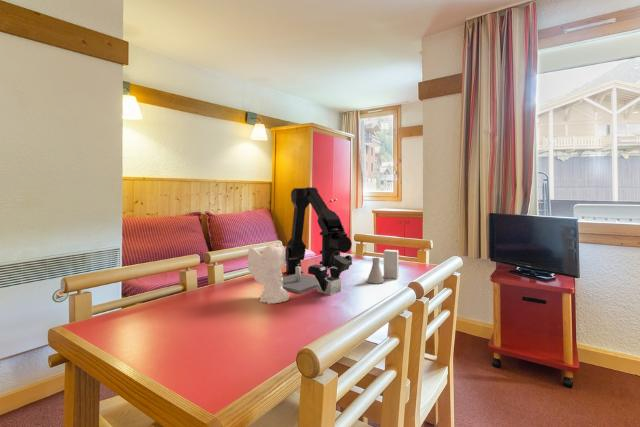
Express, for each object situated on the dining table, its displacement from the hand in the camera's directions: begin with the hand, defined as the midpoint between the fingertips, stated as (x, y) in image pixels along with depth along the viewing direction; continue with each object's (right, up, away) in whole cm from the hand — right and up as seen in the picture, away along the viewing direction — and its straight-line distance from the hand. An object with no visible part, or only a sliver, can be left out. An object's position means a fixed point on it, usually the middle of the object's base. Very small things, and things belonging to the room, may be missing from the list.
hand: (329, 288), depth 127 cm
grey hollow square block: (0, -1, 0) cm, 1 cm away
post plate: (-12, 0, +10) cm, 16 cm away
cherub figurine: (-21, -2, -8) cm, 22 cm away
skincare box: (+28, 0, +20) cm, 34 cm away
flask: (+20, 0, +14) cm, 24 cm away
